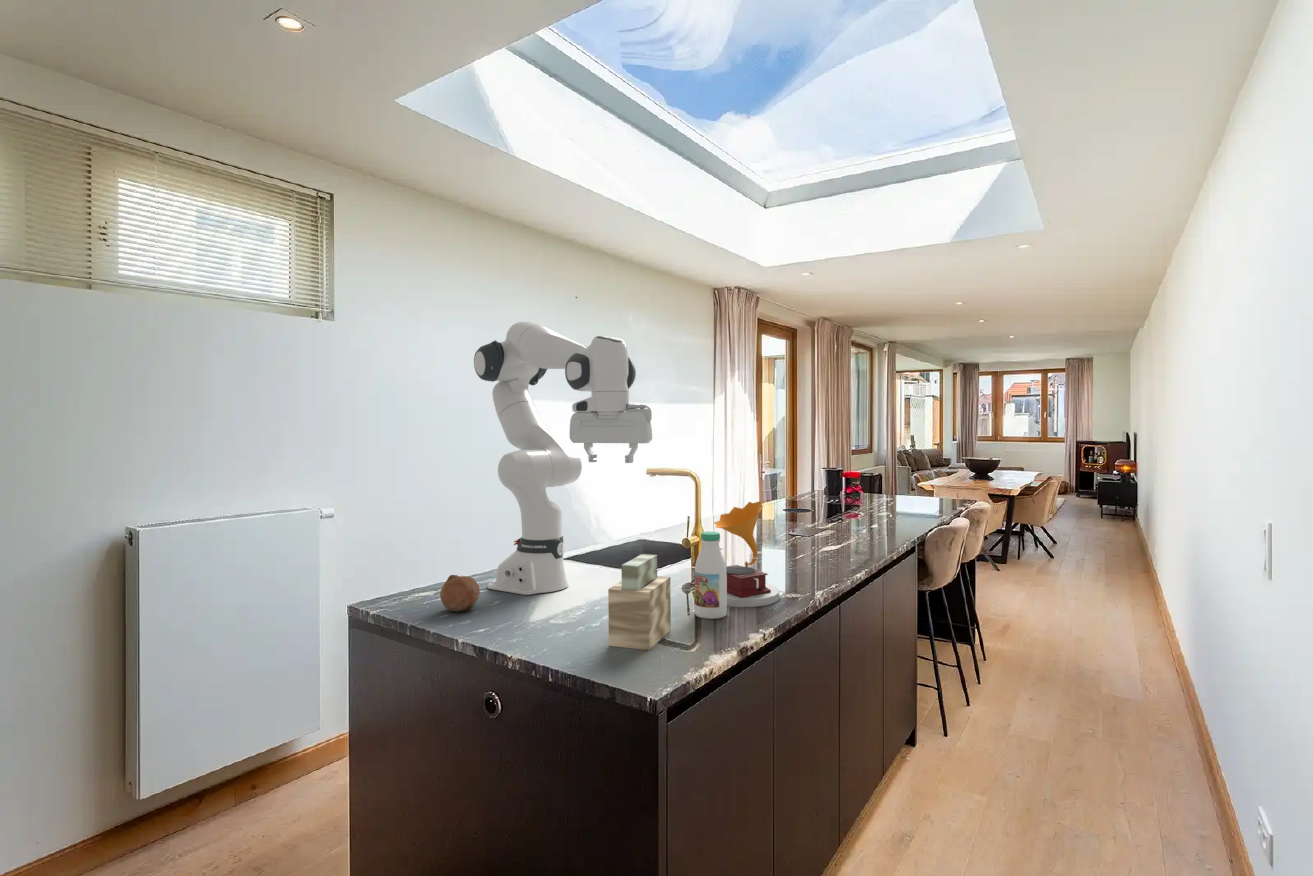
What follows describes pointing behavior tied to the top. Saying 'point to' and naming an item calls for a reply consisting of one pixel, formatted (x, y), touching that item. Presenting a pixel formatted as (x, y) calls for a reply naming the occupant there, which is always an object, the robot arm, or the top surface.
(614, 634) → the wooden square frame
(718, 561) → the milk bottle
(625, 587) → the rail end
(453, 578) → the onion
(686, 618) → the top surface
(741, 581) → the gramophone
